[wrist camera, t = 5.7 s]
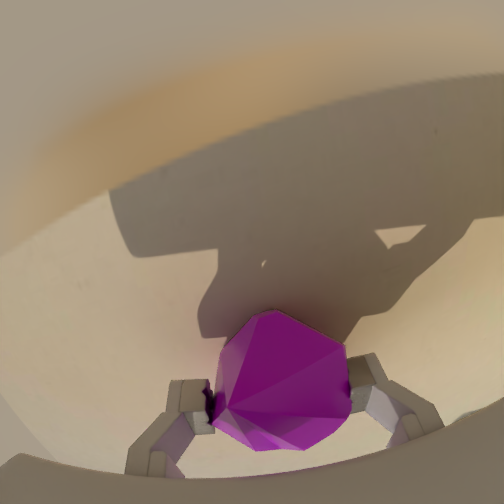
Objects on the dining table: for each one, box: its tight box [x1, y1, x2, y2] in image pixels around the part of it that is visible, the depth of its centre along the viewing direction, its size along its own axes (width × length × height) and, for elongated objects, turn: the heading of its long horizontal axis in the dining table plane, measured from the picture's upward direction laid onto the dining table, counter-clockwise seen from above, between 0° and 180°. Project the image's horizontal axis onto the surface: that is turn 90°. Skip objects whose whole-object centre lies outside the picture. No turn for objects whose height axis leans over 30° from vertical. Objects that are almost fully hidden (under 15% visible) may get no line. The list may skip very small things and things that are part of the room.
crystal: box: [211, 309, 352, 451], centre depth 11 cm, size 5×5×5 cm
